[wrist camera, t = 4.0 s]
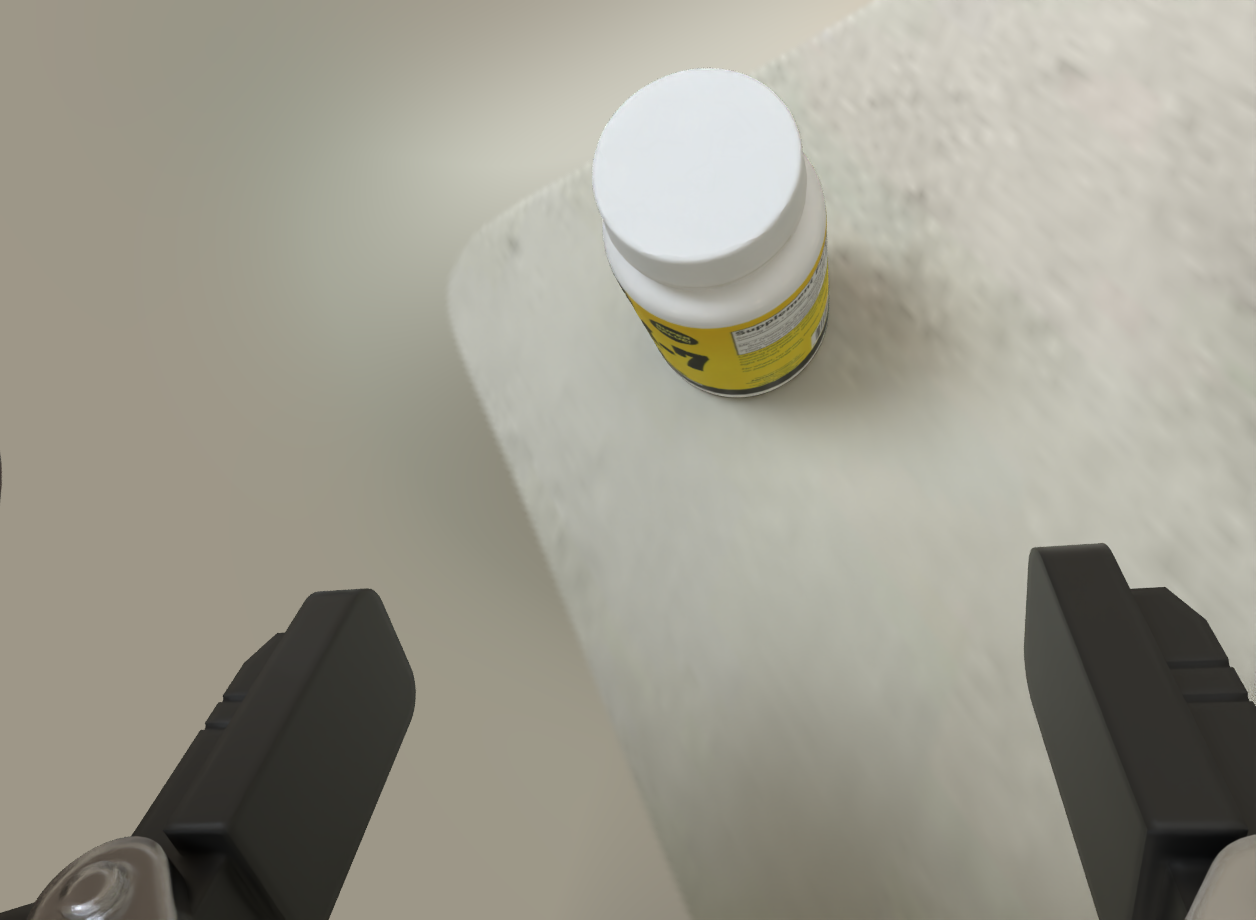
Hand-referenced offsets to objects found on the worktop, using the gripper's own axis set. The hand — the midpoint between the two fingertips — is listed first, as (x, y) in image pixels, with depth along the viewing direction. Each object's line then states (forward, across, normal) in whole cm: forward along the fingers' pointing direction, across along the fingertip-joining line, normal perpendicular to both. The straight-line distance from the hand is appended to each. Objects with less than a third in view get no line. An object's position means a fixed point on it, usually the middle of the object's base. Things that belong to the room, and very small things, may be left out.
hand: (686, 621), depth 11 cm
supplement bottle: (+15, 0, +3) cm, 15 cm away
